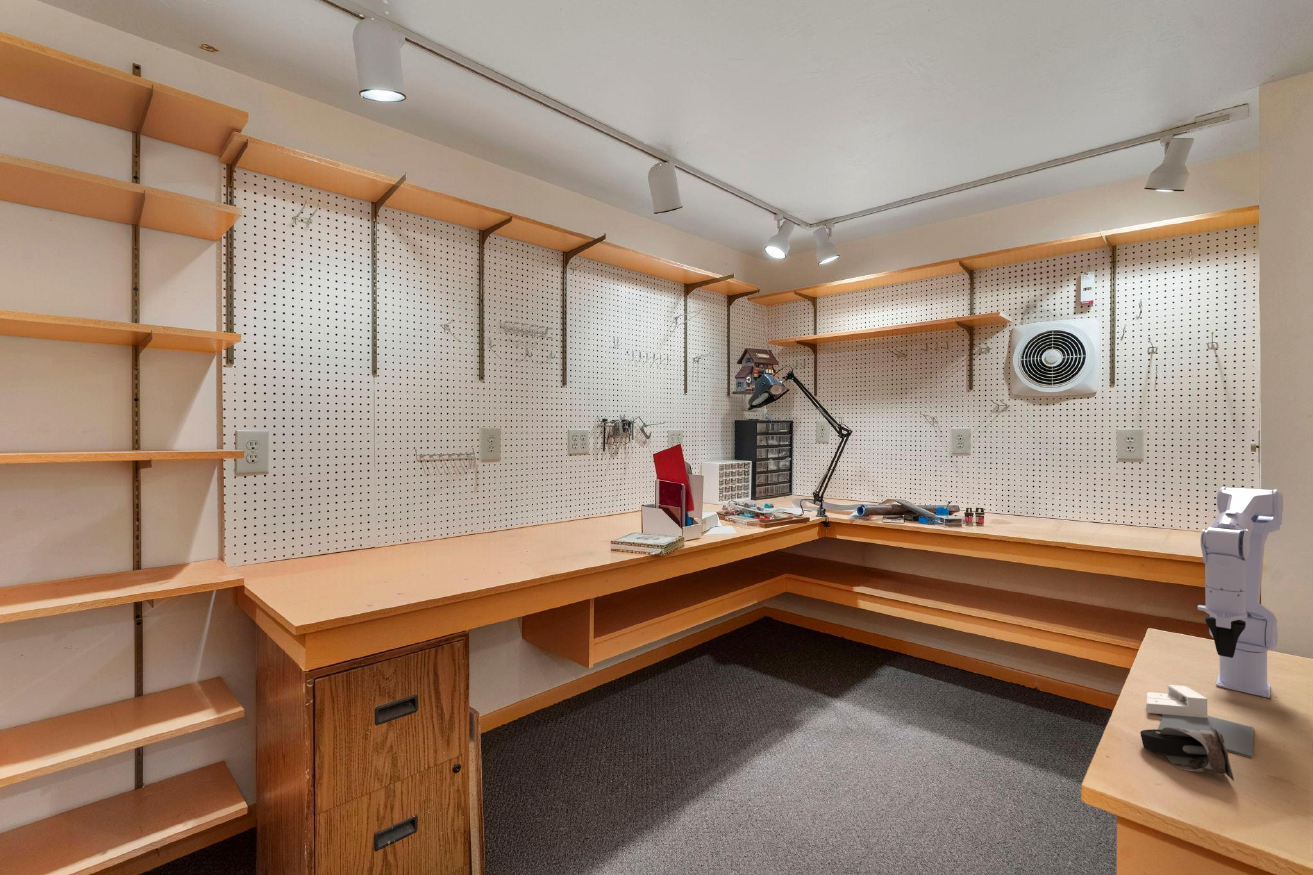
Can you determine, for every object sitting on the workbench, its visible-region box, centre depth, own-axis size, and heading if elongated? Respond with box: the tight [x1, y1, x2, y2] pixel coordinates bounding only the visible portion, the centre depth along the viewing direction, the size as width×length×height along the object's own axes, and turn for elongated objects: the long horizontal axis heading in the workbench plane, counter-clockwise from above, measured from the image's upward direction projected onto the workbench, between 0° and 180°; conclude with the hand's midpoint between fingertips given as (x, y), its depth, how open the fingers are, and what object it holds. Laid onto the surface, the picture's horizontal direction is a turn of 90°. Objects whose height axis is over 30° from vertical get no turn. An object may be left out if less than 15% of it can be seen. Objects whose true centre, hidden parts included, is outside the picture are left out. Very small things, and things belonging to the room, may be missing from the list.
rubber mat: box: [1157, 714, 1255, 759], centre depth 104 cm, size 14×12×1 cm
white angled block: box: [1146, 684, 1208, 718], centre depth 111 cm, size 4×10×9 cm
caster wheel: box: [1139, 726, 1235, 782], centre depth 94 cm, size 7×11×10 cm
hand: (1225, 655), depth 113 cm, fingers closed
